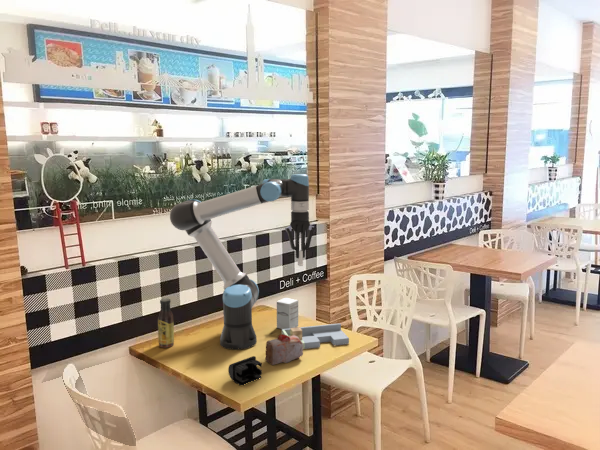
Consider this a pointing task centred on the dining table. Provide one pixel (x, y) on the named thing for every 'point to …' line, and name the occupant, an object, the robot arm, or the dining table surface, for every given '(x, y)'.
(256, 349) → the dining table surface
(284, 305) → the supplement box
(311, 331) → the tray
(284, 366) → the dining table surface
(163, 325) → the sauce bottle
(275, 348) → the food item
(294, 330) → the oak block
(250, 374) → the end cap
